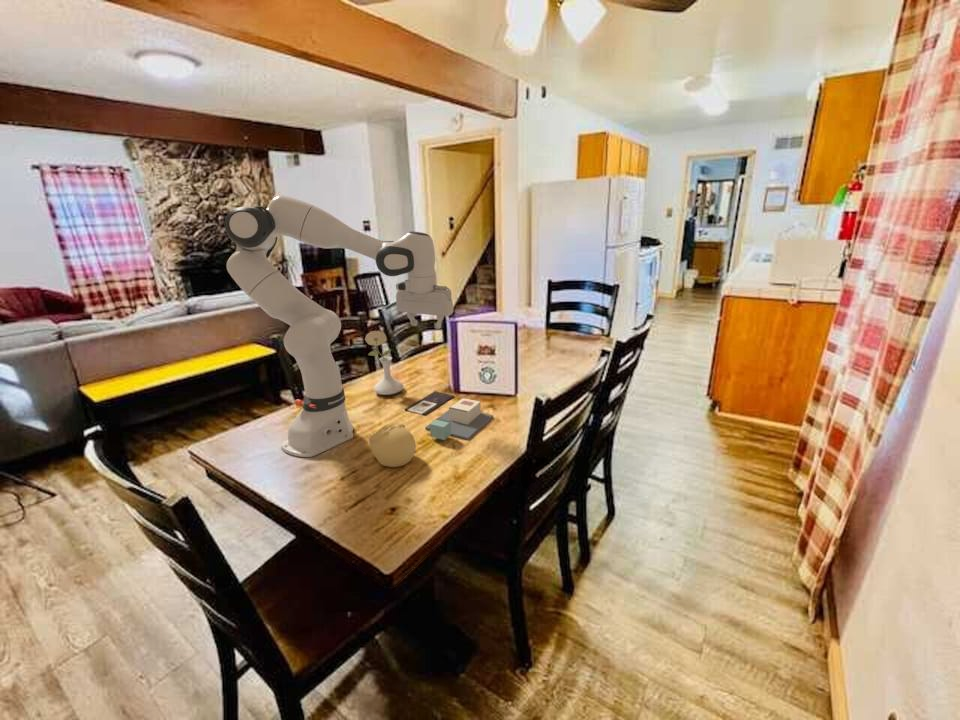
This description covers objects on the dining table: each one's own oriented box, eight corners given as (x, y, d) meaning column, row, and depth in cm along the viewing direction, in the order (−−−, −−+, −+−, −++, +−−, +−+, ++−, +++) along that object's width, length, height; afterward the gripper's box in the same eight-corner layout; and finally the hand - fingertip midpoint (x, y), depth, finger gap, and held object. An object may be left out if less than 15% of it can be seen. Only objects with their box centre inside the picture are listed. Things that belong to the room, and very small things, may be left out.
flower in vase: (406, 386, 177) (401, 326, 169) (399, 397, 166) (393, 334, 158) (375, 385, 178) (368, 326, 170) (366, 397, 168) (358, 334, 160)
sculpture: (397, 445, 133) (393, 413, 129) (424, 458, 125) (421, 425, 122) (366, 462, 124) (361, 428, 121) (393, 477, 117) (389, 441, 114)
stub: (444, 440, 133) (443, 426, 131) (430, 436, 135) (429, 423, 134) (451, 434, 136) (450, 421, 135) (438, 431, 138) (437, 418, 137)
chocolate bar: (454, 395, 166) (424, 414, 151) (454, 398, 166) (425, 416, 152) (435, 391, 170) (404, 409, 156) (435, 393, 170) (405, 411, 156)
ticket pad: (468, 440, 135) (467, 424, 133) (425, 429, 142) (424, 414, 140) (493, 417, 149) (492, 403, 147) (453, 408, 156) (452, 395, 154)
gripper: (456, 284, 136) (458, 327, 141) (403, 281, 146) (407, 321, 150) (445, 288, 131) (447, 332, 136) (391, 284, 141) (395, 326, 145)
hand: (426, 326), depth 143 cm, fingers open, 8 cm apart
